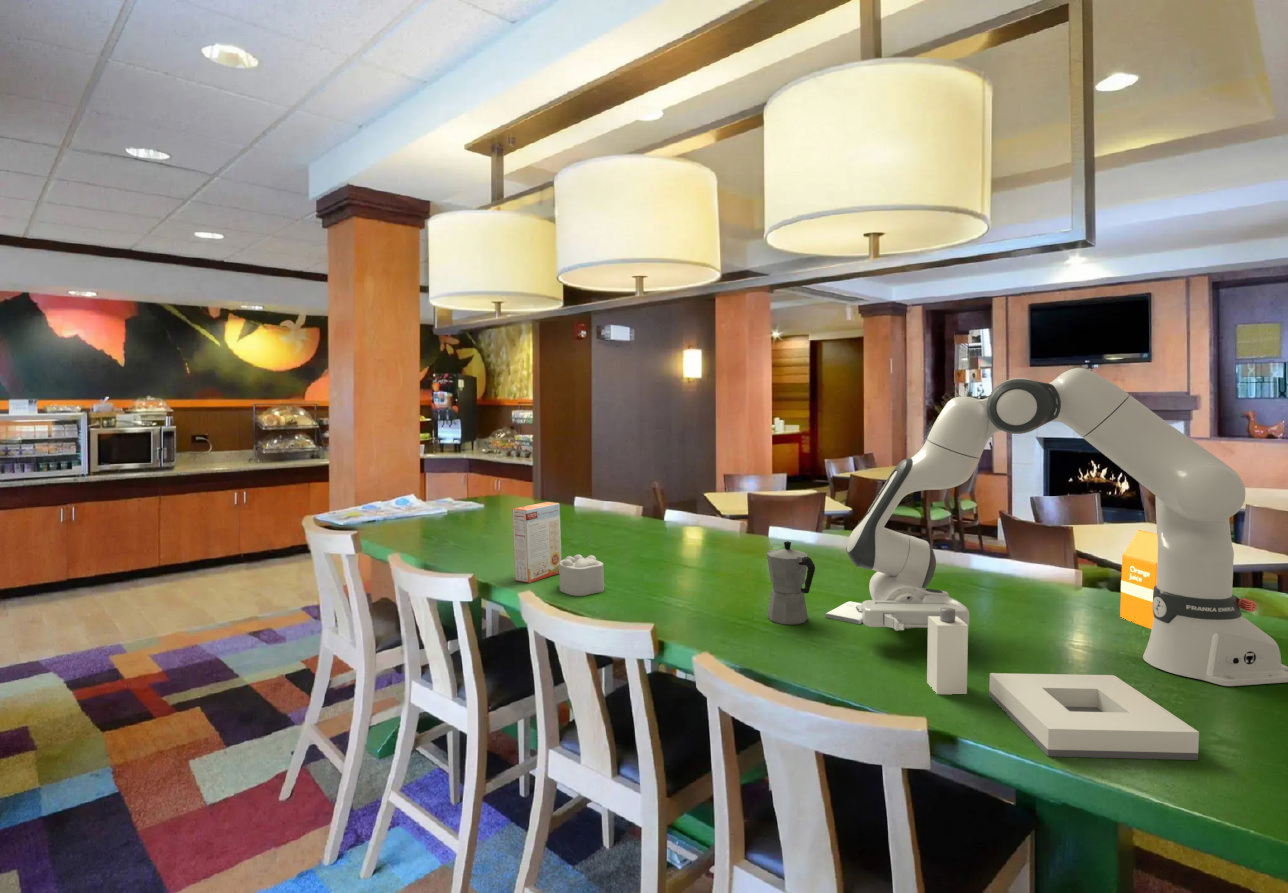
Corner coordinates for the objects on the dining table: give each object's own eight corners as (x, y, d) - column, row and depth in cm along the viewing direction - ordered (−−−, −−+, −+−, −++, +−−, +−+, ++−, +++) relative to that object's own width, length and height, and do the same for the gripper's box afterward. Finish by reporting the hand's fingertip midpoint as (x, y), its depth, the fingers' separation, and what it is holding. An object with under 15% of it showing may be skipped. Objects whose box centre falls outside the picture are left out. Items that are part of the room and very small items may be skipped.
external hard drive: (825, 619, 162) (847, 606, 172) (859, 626, 157) (880, 613, 167) (825, 613, 162) (847, 600, 172) (859, 619, 157) (880, 606, 167)
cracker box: (547, 570, 210) (546, 501, 209) (562, 573, 207) (561, 502, 205) (513, 580, 199) (511, 507, 198) (528, 583, 195) (526, 509, 194)
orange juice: (1153, 630, 151) (1156, 537, 149) (1119, 617, 160) (1122, 530, 158) (1184, 627, 152) (1188, 536, 151) (1149, 615, 161) (1152, 528, 159)
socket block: (1113, 698, 117) (1114, 675, 117) (1197, 760, 98) (1199, 732, 97) (989, 696, 119) (989, 673, 119) (1047, 756, 99) (1048, 728, 99)
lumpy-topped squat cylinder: (575, 597, 182) (574, 564, 181) (550, 587, 192) (550, 555, 191) (609, 590, 188) (608, 558, 187) (583, 580, 198) (582, 550, 198)
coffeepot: (753, 614, 165) (753, 538, 164) (784, 608, 170) (784, 534, 169) (797, 633, 152) (797, 550, 151) (830, 625, 156) (830, 546, 155)
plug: (956, 682, 125) (957, 605, 124) (966, 694, 120) (968, 614, 119) (927, 682, 125) (928, 605, 124) (936, 694, 120) (937, 613, 119)
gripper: (853, 590, 148) (869, 610, 134) (954, 591, 146) (980, 611, 133) (853, 619, 148) (869, 642, 135) (953, 620, 147) (980, 643, 133)
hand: (925, 627), depth 134 cm, fingers open, 8 cm apart
